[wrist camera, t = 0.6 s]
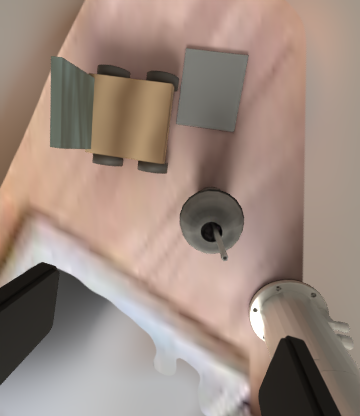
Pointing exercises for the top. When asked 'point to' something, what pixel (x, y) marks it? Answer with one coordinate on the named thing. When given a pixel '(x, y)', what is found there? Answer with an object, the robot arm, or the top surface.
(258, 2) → the top surface
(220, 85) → the mat
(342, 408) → the robot arm
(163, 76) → the trolley
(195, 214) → the beverage cup
